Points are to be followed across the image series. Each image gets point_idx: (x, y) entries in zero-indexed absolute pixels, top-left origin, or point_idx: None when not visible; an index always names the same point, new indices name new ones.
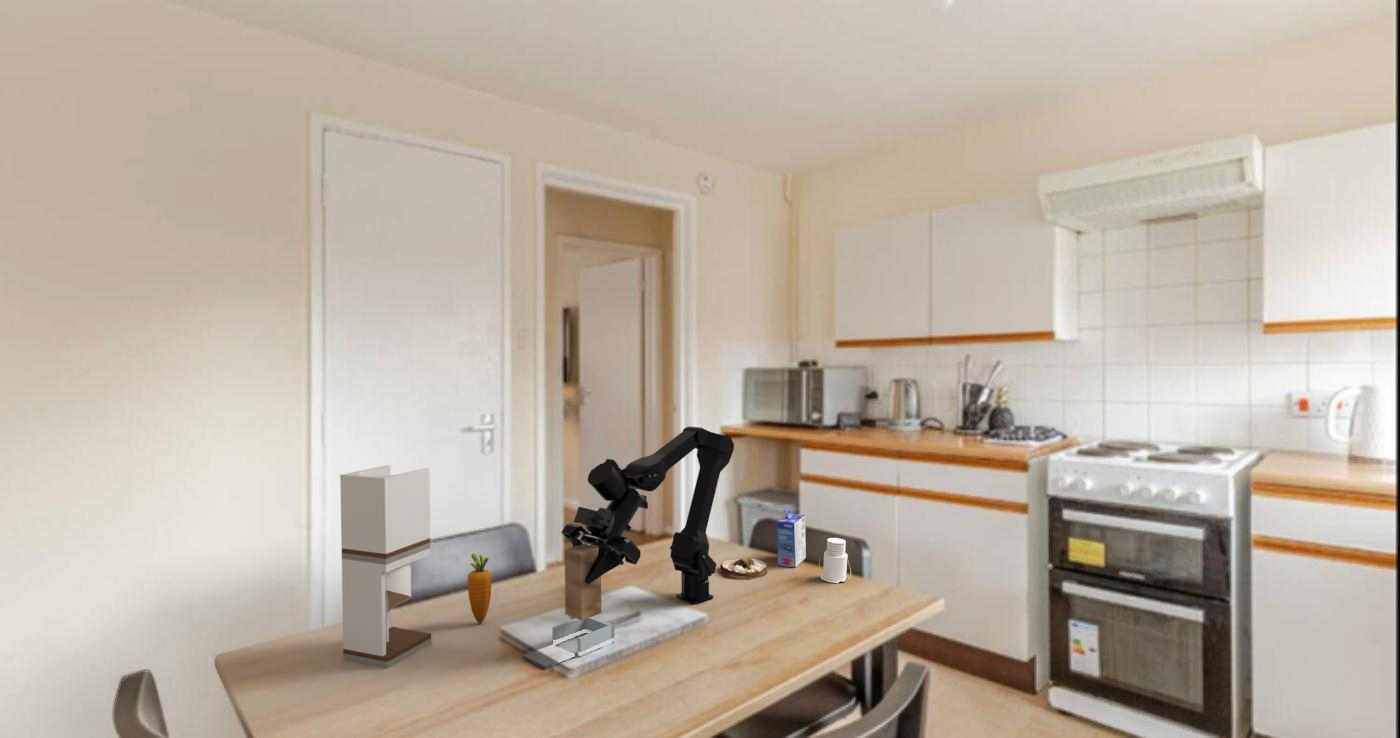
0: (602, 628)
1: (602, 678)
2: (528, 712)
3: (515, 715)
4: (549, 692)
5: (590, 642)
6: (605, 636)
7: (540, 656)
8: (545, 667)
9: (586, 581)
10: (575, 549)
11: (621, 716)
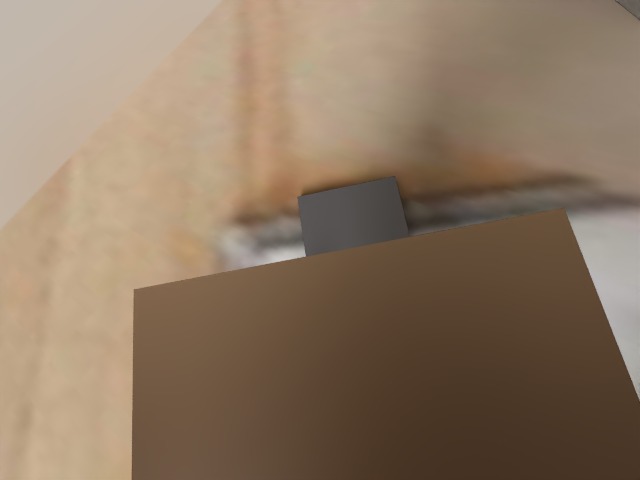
0: None
1: None
2: (168, 108)
3: (176, 87)
4: (201, 165)
5: None
6: None
7: (357, 209)
8: (298, 197)
9: None
10: (420, 353)
11: (33, 233)
